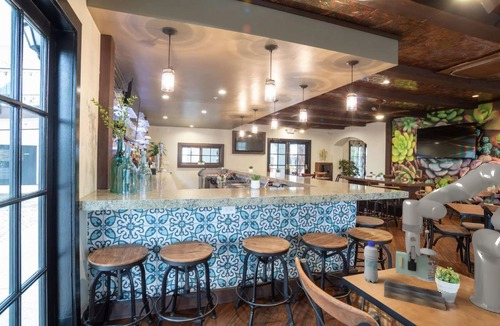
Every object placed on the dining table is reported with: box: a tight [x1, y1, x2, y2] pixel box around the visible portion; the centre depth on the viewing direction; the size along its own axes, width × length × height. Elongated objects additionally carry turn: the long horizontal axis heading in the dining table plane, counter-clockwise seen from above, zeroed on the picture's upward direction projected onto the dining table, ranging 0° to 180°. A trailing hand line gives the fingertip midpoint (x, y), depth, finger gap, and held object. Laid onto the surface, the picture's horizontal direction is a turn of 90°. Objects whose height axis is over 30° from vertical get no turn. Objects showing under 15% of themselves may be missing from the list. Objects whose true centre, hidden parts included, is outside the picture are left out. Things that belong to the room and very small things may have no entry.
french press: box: [416, 229, 439, 284], centre depth 131 cm, size 10×12×25 cm
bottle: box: [363, 240, 379, 284], centre depth 127 cm, size 7×7×20 cm
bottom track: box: [383, 279, 447, 311], centre depth 112 cm, size 22×12×4 cm, turn 61°
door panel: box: [395, 250, 429, 279], centre depth 112 cm, size 12×4×9 cm, turn 61°
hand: (411, 268), depth 112 cm, fingers closed on door panel, 3 cm apart
